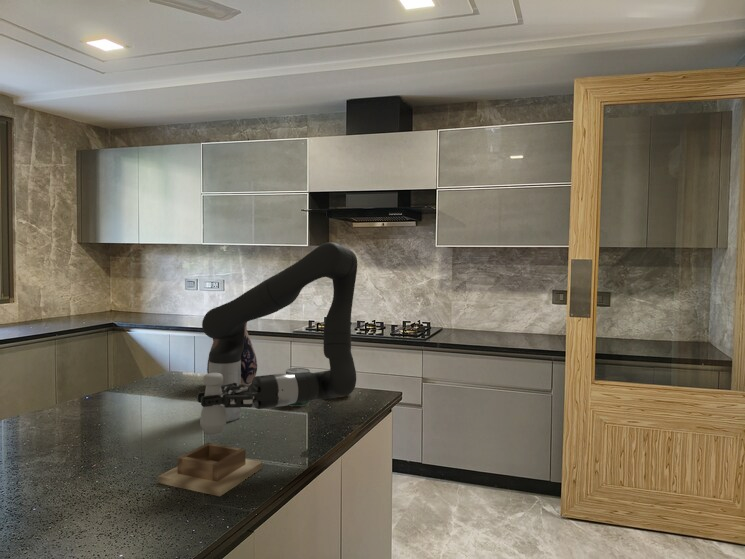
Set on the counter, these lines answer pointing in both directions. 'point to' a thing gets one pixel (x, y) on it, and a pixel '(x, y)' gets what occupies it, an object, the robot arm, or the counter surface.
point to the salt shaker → (213, 415)
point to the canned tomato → (298, 370)
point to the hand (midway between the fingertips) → (200, 399)
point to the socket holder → (211, 469)
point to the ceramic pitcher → (244, 359)
